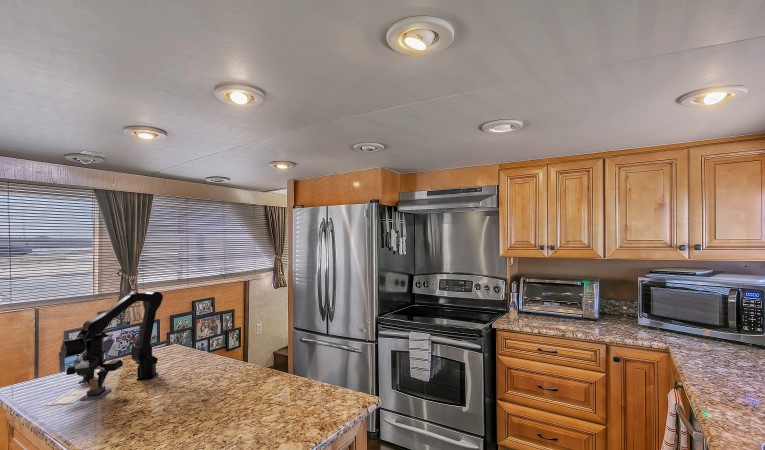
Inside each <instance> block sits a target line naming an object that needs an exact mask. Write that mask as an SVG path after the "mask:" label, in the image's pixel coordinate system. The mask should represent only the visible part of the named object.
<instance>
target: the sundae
mask: <svg viewBox="0 0 765 450" xmlns="http://www.w3.org/2000/svg"><path fill="white" fill-rule="evenodd" d="M84 355H86V351H85V352H83V353H82V354H80V356H79V358H77V359H76V360H75V361H74V362H75V364H76V363H80V362H82V361H83V357H84ZM86 382H87V381H86V380H85V378H84V377H82V380H79V381H78V384H87V383H86Z"/></svg>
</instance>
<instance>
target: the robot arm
mask: <svg viewBox="0 0 765 450" xmlns="http://www.w3.org/2000/svg"><path fill="white" fill-rule="evenodd" d="M163 299H164V295H163V293H162V292H160V291H152V290H151V291H150V290H148V291H147V292H134V291H132V292H129V293H128V294H127V295H126V296H124V297H123V298H122V299H120V300H118V301H117V303H115V304H113V305H112V306H111V307H109V308H108V309H107V310H105V311H104V312H101V314H100V313H99V314H97V315H96V316H94V317H92V318H89V319H88V320H85V322H84V323H83V324H82V328H81V330H80V332H79V333H77V334H76V336H75V338H72V339H70V338H69V339H65V340H63V341H62V344H61V347H60V355H61V357H62V358H63V359H66V358H67V359H68V358H70V357H74V356H78V355H82V354H83V352H84V353H85V352H86V355H84V357H83V361H82V362H80V363H76V362H75V363H74V364H72V365H71V366H69V367H67V369H66V370H65V373H66V376H71V375H75V374H76V375H77V376H78V377H82V378H83V377H84V378H85V380H86V381H87V383H86V384H87V386H88V387H90V384H89V380H90V379H92V378H93V377H95V370H99V371H98V372H96V375H97V377H98V381H99V388H100V387H102V386H104V383H105V380H106V378H107V376H108V374H109V372H114V371H115V372H116V371H117V370H118V369H120V368H122V367H123V365H124V364H123V363H124V362H123V360H122V359H114V360H110V361H109V362H106V361H107V360H106V359H104V353H105V354H106V349H104V341H103V339H104V338H107V337H109V334H107V333H105V332H104V330H105V329H106V328H107V327H108V326H109V325H110V324H111V322H112V321H113V320H114V319H115V318H116V317H118V316H119V315H120V314H121V313H123V312H124V311H126V310H127V309H128V308H129V307H131V306H132V305H133V304H134V303H136V302H142V305H143V308H144V309H143V310H144V313H143V317H142V323H141V327H140V332H139V333H140V334H139V338H138V342H137V343H136V345H132V346H131V353H130V354H129V355H130V356H131V360H132V361H134V362H135V363H136V365H137V369H136V373H137V374H136V375H137V376H136V377H137V378H136V380H135V381H143V380H152V379H154V377H156V376H157V375H158V374H159V372H157V366H156V365H157V364H158V360H159V358H158V357H156V356H154V355H153V346H152V343H151V340H152V335H153V330H154V325H155V320H156V315H157V312H158V309H159V308H160V307H161V304H162V302H163Z"/></svg>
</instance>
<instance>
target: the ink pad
mask: <svg viewBox="0 0 765 450" xmlns="http://www.w3.org/2000/svg"><path fill="white" fill-rule="evenodd" d="M109 391H110V392H112V387H105V390H104V391H103V392H101V393H100V394H96V395H87V394H86V395H84V396H83V397H81V398H80V399H79V400H80V401H90V400H99V399H101V398H102V397H104V396H105V395H107V394H109V393H110V392H109ZM106 393H107V394H106Z"/></svg>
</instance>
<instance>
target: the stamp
mask: <svg viewBox="0 0 765 450" xmlns="http://www.w3.org/2000/svg"><path fill="white" fill-rule="evenodd" d="M89 384H90V390H88V391H87V395H96V394H100V393H101V392H103V391H104V390H105V388H106V385H102V387H100V388H99V381H98V376H94V377H93V378H92V379H90V380H89Z"/></svg>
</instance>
